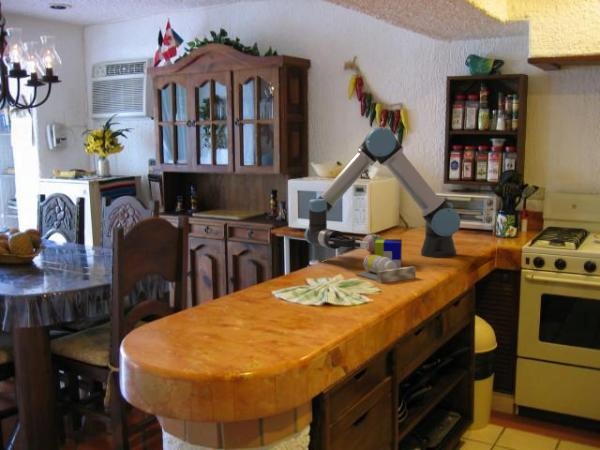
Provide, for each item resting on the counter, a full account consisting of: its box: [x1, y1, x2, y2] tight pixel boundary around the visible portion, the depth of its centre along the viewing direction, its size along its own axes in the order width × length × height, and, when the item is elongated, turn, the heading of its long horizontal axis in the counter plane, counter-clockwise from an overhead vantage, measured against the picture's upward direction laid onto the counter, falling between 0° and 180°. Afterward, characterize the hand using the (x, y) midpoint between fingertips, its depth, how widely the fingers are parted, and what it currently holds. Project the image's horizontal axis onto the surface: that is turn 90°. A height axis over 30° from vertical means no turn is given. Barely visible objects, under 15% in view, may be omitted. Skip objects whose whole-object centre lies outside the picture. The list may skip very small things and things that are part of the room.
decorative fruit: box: [362, 233, 383, 255], centre depth 276 cm, size 9×8×10 cm
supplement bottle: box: [363, 253, 396, 273], centre depth 228 cm, size 7×7×13 cm
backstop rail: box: [376, 265, 416, 284], centre depth 220 cm, size 16×2×4 cm, turn 121°
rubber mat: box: [355, 271, 377, 282], centre depth 227 cm, size 14×14×1 cm
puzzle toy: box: [374, 238, 403, 268], centre depth 248 cm, size 10×10×10 cm
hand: (367, 245), depth 233 cm, fingers closed
